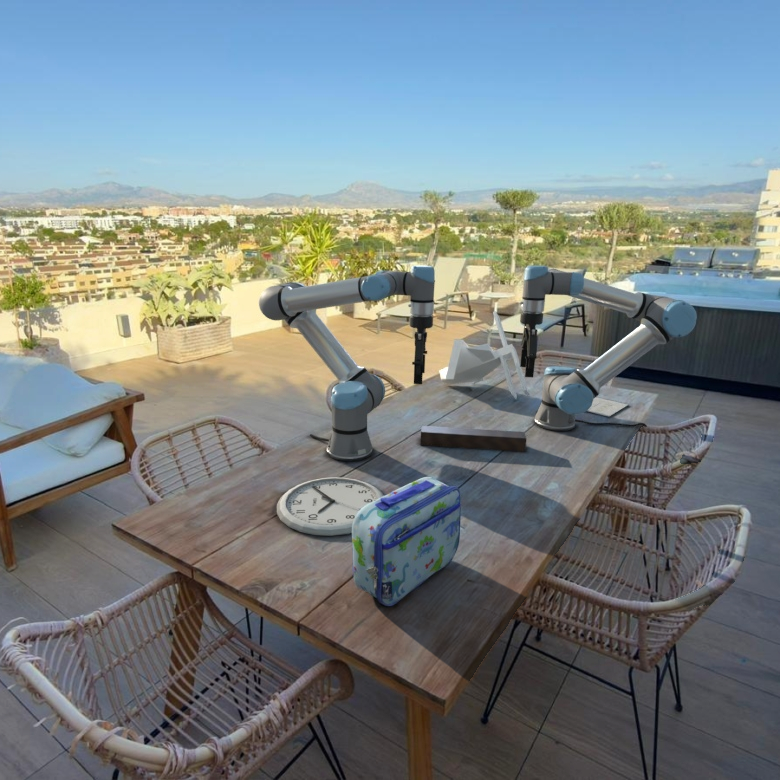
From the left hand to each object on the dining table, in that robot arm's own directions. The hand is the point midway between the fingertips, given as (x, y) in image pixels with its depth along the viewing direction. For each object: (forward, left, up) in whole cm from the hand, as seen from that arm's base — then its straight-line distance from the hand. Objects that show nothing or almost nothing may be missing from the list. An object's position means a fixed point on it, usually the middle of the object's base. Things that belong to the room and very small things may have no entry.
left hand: (419, 378), depth 175 cm
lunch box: (+32, -65, -25) cm, 76 cm away
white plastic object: (-5, +71, -25) cm, 75 cm away
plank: (+16, +12, -25) cm, 31 cm away
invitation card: (+47, +81, -25) cm, 97 cm away
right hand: (+28, +29, 0) cm, 40 cm away
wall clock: (0, -48, -25) cm, 54 cm away
